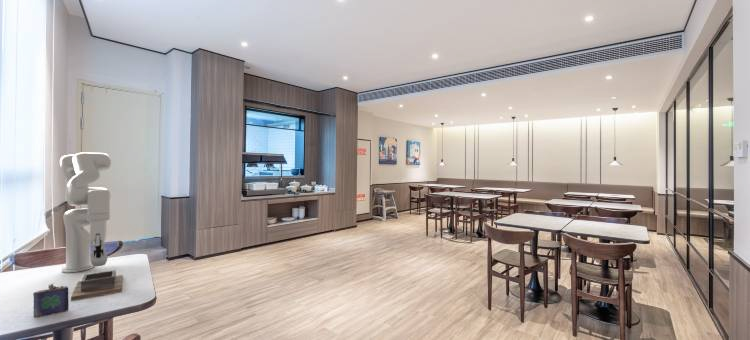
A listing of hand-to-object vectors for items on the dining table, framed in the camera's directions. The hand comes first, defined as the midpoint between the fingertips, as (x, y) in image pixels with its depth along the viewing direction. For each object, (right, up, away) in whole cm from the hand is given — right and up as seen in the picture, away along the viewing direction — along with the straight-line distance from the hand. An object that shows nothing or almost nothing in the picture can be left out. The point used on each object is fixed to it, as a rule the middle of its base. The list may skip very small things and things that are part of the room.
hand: (99, 257), depth 145 cm
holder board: (0, -13, 0) cm, 13 cm away
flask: (+3, -14, -25) cm, 29 cm away
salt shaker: (0, -3, 0) cm, 3 cm away
